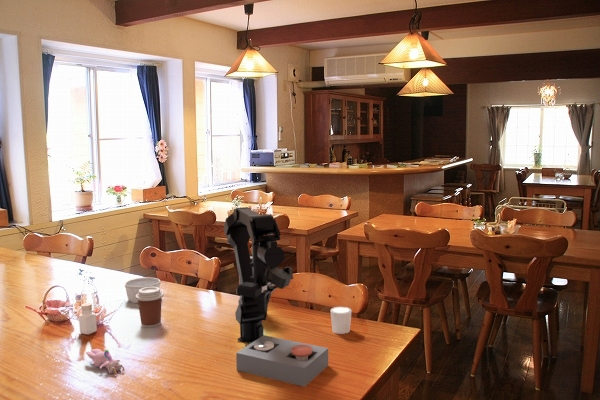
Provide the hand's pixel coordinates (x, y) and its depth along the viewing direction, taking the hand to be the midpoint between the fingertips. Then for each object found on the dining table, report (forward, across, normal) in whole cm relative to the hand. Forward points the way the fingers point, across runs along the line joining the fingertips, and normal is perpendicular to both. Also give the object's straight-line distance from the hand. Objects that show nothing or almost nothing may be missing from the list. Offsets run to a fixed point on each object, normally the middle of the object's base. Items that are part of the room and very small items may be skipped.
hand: (263, 311), depth 157 cm
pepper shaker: (+13, -11, +61) cm, 63 cm away
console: (+13, -5, -9) cm, 17 cm away
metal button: (+13, -5, -3) cm, 14 cm away
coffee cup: (+13, +4, +48) cm, 50 cm away
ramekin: (+13, +23, +70) cm, 75 cm away
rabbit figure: (+13, -27, +36) cm, 47 cm away
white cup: (+13, +27, -12) cm, 32 cm away
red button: (+12, -5, -15) cm, 20 cm away
